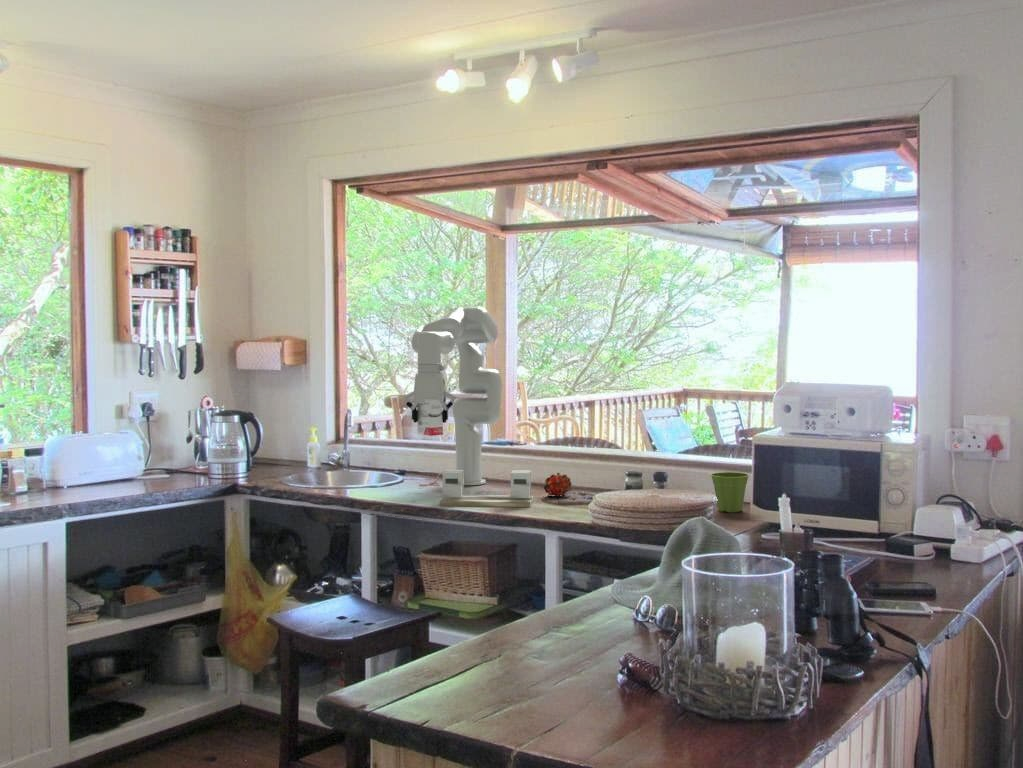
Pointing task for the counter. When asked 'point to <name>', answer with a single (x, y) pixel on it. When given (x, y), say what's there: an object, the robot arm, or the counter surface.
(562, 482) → the dragon fruit
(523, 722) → the counter surface
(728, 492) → the plant pot
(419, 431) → the ink box
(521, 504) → the rail board
